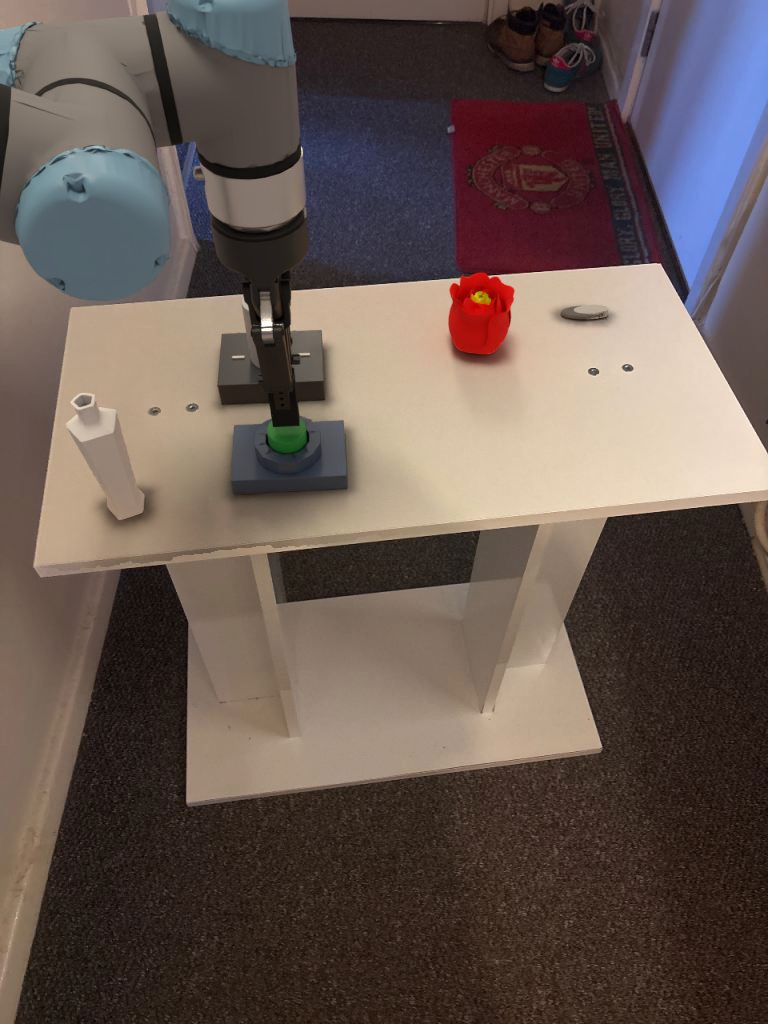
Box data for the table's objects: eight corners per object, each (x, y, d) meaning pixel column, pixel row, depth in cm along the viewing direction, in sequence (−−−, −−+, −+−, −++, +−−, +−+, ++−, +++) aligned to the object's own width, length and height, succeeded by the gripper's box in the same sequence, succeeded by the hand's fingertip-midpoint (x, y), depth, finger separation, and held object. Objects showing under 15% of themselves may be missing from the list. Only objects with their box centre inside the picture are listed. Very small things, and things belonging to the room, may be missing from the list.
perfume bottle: (143, 481, 80) (103, 376, 68) (154, 511, 78) (114, 407, 66) (100, 495, 79) (51, 391, 67) (109, 526, 77) (61, 423, 65)
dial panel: (221, 404, 87) (216, 384, 85) (225, 352, 93) (221, 332, 90) (324, 399, 88) (323, 379, 85) (322, 348, 93) (321, 328, 91)
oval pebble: (560, 322, 98) (561, 315, 97) (559, 310, 99) (560, 303, 98) (608, 321, 97) (610, 314, 96) (606, 309, 98) (607, 302, 98)
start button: (268, 455, 78) (266, 444, 76) (269, 427, 80) (267, 415, 79) (307, 453, 78) (305, 442, 77) (306, 425, 80) (305, 414, 79)
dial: (291, 369, 87) (285, 310, 80) (249, 371, 86) (239, 311, 80) (291, 341, 89) (285, 282, 83) (251, 343, 89) (241, 284, 83)
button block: (233, 494, 79) (227, 469, 76) (236, 438, 84) (231, 413, 81) (347, 488, 80) (346, 463, 77) (344, 433, 85) (343, 408, 82)
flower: (517, 340, 95) (528, 287, 88) (487, 375, 91) (495, 321, 85) (463, 317, 97) (470, 264, 91) (432, 350, 94) (436, 296, 87)
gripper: (213, 165, 62) (251, 379, 81) (202, 259, 54) (247, 471, 73) (305, 162, 62) (321, 375, 81) (307, 255, 54) (324, 467, 73)
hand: (286, 421), depth 77 cm, fingers closed
